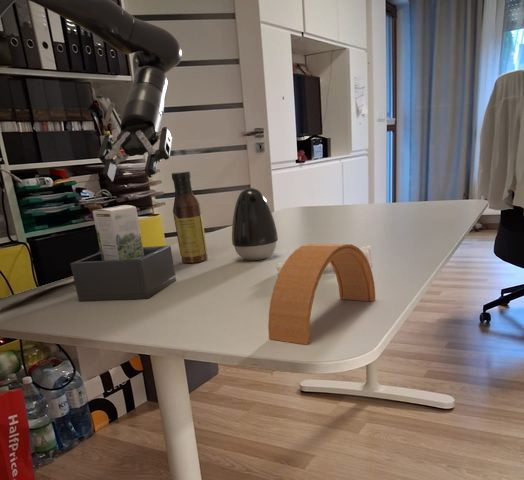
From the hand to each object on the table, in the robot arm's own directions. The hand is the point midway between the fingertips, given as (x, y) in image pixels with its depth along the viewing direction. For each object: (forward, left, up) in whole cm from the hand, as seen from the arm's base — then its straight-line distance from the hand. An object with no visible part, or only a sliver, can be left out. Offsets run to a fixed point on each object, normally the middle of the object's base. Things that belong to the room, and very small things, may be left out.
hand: (128, 176), depth 99 cm
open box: (0, -8, -20) cm, 22 cm away
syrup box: (0, -8, -19) cm, 21 cm away
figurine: (+36, +1, -20) cm, 41 cm away
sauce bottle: (+4, +17, -20) cm, 27 cm away
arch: (+40, -27, -20) cm, 53 cm away
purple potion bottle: (-12, +9, -20) cm, 26 cm away
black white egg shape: (+19, +17, -20) cm, 33 cm away
